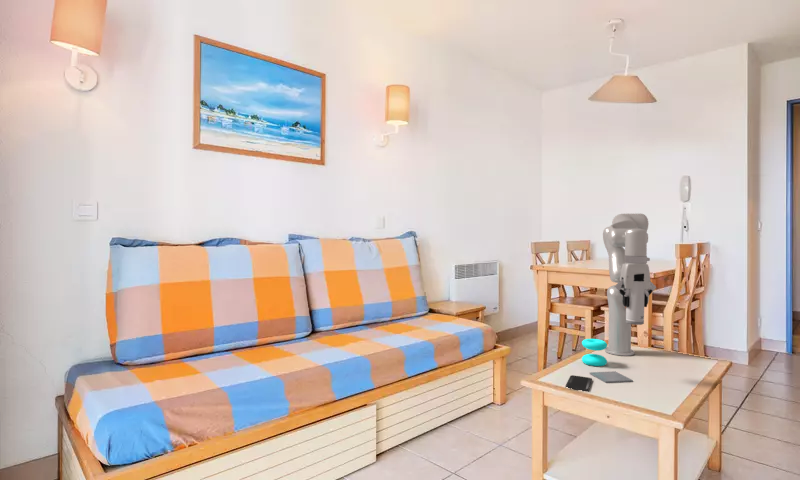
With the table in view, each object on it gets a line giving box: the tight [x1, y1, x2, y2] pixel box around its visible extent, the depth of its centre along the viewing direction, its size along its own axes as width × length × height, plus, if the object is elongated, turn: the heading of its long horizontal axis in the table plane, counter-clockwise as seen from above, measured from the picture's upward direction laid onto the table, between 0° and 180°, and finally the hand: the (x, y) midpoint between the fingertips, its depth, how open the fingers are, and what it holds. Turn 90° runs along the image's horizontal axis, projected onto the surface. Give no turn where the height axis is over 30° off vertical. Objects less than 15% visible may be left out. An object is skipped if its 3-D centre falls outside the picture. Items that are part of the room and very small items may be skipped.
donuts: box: [581, 338, 608, 367], centre depth 196 cm, size 10×10×10 cm
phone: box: [565, 375, 593, 392], centre depth 170 cm, size 8×1×15 cm
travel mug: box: [625, 274, 645, 326], centre depth 178 cm, size 6×7×20 cm
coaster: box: [589, 370, 634, 384], centre depth 177 cm, size 11×11×1 cm
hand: (635, 306), depth 178 cm, fingers closed on travel mug, 6 cm apart
